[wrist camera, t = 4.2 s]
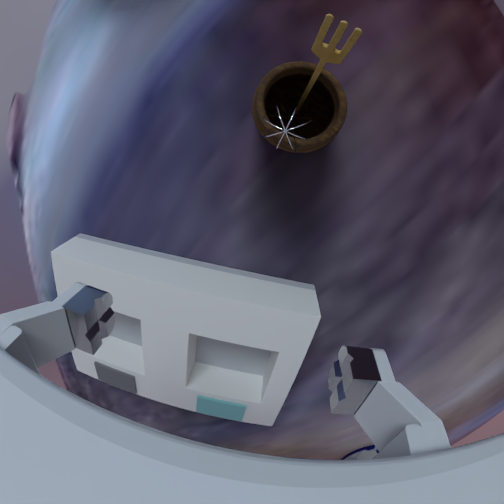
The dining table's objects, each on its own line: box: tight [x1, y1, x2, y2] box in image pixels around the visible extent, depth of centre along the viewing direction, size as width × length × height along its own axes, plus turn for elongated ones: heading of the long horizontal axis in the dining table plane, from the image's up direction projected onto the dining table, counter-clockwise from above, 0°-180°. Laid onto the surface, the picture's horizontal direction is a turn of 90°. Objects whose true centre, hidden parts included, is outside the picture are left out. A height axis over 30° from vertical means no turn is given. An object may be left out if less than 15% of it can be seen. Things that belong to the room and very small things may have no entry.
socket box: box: [51, 233, 321, 426], centre depth 26 cm, size 24×16×5 cm, turn 79°
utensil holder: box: [252, 14, 362, 153], centre depth 14 cm, size 6×6×12 cm
